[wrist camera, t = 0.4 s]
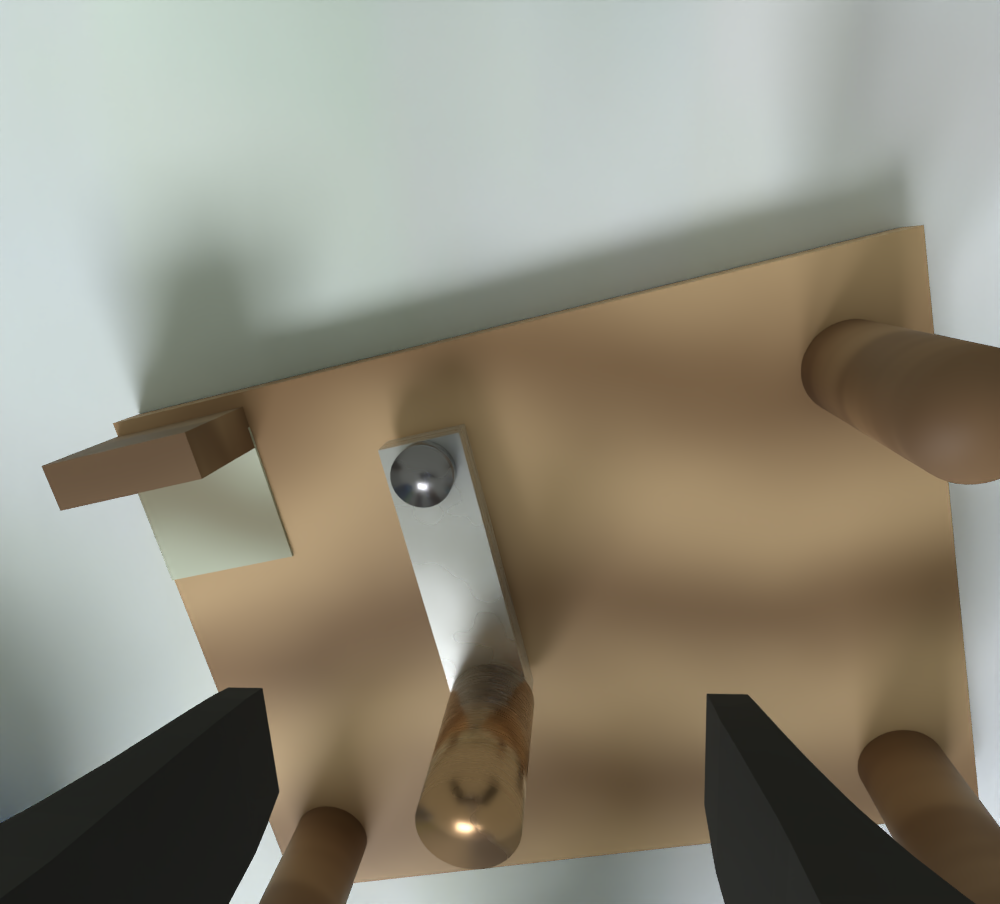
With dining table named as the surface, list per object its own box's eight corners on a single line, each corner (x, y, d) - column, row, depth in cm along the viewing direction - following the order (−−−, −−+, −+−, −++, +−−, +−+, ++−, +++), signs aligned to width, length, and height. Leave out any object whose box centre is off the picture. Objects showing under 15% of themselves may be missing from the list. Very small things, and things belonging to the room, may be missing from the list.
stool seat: (958, 783, 22) (1131, 1020, 15) (308, 860, 25) (211, 1079, 18) (900, 227, 18) (1101, 207, 11) (138, 414, 21) (-65, 486, 14)
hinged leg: (384, 441, 19) (310, 511, 14) (468, 422, 19) (425, 487, 13) (467, 720, 21) (431, 874, 16) (544, 709, 21) (533, 863, 15)
